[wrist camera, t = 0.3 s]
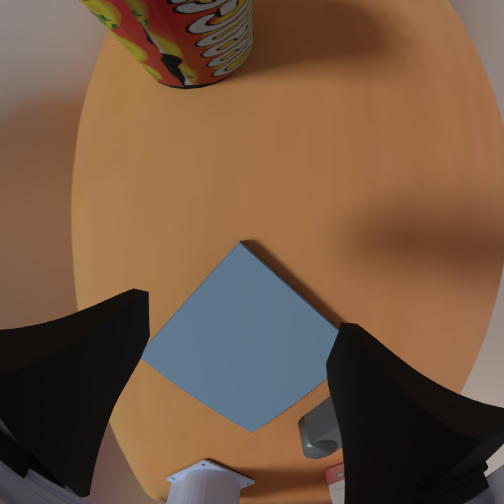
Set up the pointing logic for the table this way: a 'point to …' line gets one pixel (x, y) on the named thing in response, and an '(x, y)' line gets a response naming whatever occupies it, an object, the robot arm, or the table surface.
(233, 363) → the blue-grey mat
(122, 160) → the table surface
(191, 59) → the beverage can
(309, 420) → the dark grey rounded block
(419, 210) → the table surface
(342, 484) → the ink cartridge box
